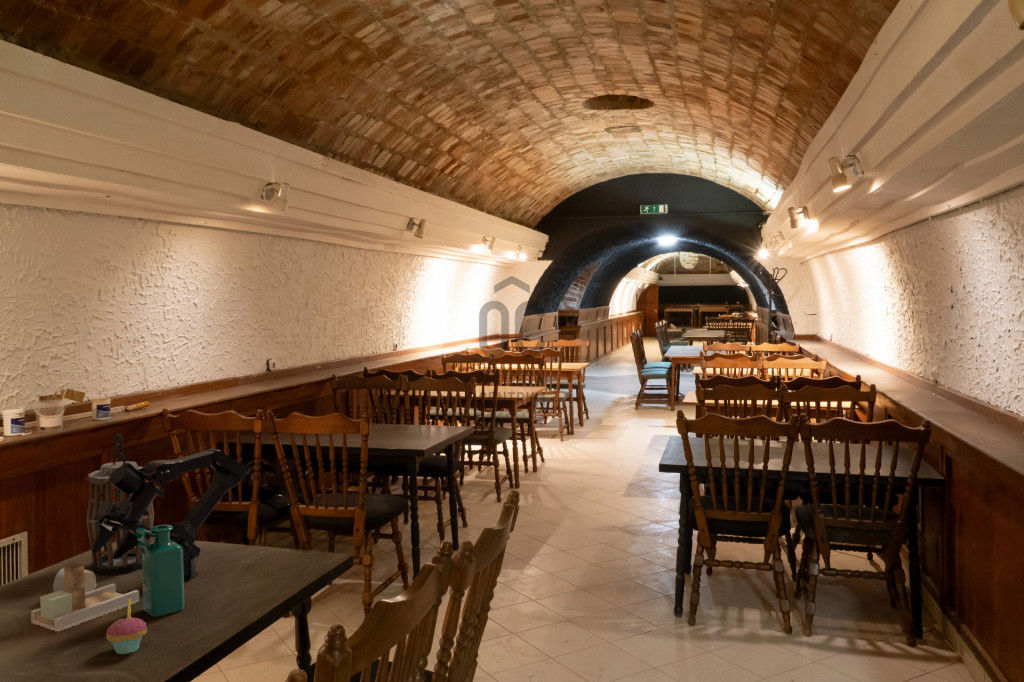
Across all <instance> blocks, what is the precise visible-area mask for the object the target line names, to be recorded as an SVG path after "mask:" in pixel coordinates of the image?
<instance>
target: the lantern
mask: <svg viewBox="0 0 1024 682" xmlns="http://www.w3.org/2000/svg"><path fill="white" fill-rule="evenodd" d="M118 438H119V439H120V442H118V443H117V439H118ZM113 446H114V449H113V450H114V455H113V457H112V462H109V463H108V462H107V463H104V464H102V465H101V466H100V468H99V470H95V471H93V472H91V473H90V472H89V473H88V476H86V477H84V478H82V481H87V482H89V494H88V496H89V498H88V504H87V513H86V526H87V527H86V528H87V535H88V539H89V545H90V550H91V571H92V572H93V573H94V574H97V573H98V575H101V574H102V576H103V575H104V576H108V575H109V576H110V574H118V575H122V574H121V573H124V574H128V573H127V572H130V573H133V572H132V571H135V572H137V571H136V570H138V571H140V570H139V569H141V570H142V550H143V549H142V548H141V547H140V546H139V545H137V546H135V547H134V548H132V549H130V550H129V551H127V552H126V553H125V554H123V555H122V556H120V557H119V558H117V559H113V558H112V557H113V554H114V552H115V551H113V543H115V542H116V548H117V547H118V545H119V543H120V542H121V540H122V538H123V530H122V529H118V530H117V531H116V533H115V537H116V538H111V539H110V540H109V541H108V542H107V543H106V544H105V545H104V546H103V550H102V548H101V549H100V550H99V551H98V552H96V553H93V552H92V548H93V545H94V541H95V538H96V533H97V529H96V526H95V525H94V521H93V519H94V517H95V516H96V514H99V513H98V511H99V508H100V505H101V502H102V501H104V502H110V503H115V504H116V502H117V501H123V500H126V501H127V500H128V499H127V497H126V496H127V494H125V493H123V492H122V491H120V490H119V489H117V488H116V487H115V486H114V490H112V484H110V483H109V477H110V475H111V473H112V472H113V471H115V470H116V469H117V468H119V467H121V466H123V464H124V463H130V464H131V465H133V467H134V468H136V469H137V470H138V469H141V468H143V466H139V465H138V464H137V462H136V461H128V460H127V459H126V457H125V455H124V447H123V446H124V437H123V436H122V435H121V434H120V433H117V434H115V435H114V436H113ZM118 449H119V450H120V451H119V452H118ZM116 458H122V461H116ZM126 460H127V461H126ZM143 481H145V482H146V483H147V482H150V481H148V480H145V479H144V480H143ZM131 494H132V493H131ZM131 494H128V495H129V497H130V495H131ZM112 495H114V499H115V500H113V501H112ZM100 499H101V500H100ZM146 511H147V512H149V513H148V515H147V516H146V515H143V516H142V518H141V519H140V521H139V522H141V523H143V524H144V525H146V526H147V527H149V528H150V529H151V528H153V527H154V520H155V511H154V504H153V502H152V503H151V504H150V506H149V507H148V509H147V510H146ZM120 526H121V525H120ZM149 544H152V537H151V538H150V539H149V541H147V540H146V545H149ZM106 574H107V575H106Z"/></svg>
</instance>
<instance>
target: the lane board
mask: <svg viewBox="0 0 1024 682" xmlns="http://www.w3.org/2000/svg"><path fill="white" fill-rule="evenodd" d="M105 592H109V593H113V594H116V595H119V596H118V597H115V598H112V599H109V600H106V601H104V602H101V603H98V604H95V605H92V606H89V607H87V608H84V609H81V610H78V611H75V612H73V613H70V614H67V615H64V616H61V617H58V618H56V619H54V625H51V624H48V623H45V622H42V621H39V620H37V616H38V615H41V607H38V608H37V609H33V610H31V611H30V614H31V615H30V618H31V620H30V621H31V624H33V623H34V624H33V625H36V624H37V625H36V626H38V625H40V626H39V627H41V626H43V627H42V628H44V627H46V628H45V629H47V628H49V629H48V630H50V629H51V631H53V630H55V631H54V632H56V631H57V632H56V633H59V632H62V631H64V629H65V630H67V629H70V628H73V627H75V626H78V625H81V624H83V623H82V622H84V623H86V622H88V620H89V621H91V619H92V620H94V619H96V617H97V618H100V617H102V616H105V615H108V614H111V613H113V612H116V611H118V609H119V610H121V609H123V607H124V608H126V606H127V607H128V599H129V595H130V599H131V604H132V605H134V603H135V604H137V603H136V602H138V603H139V602H140V591H139V590H137V589H135V590H132V591H130V592H127V593H120V592H117V584H116V583H110V584H108V585H104V586H101V587H98V588H95V589H94V590H92V591H89V592H86V593H85V599H87V598H90V597H93V596H96V595H99V594H102V593H105ZM110 612H111V613H110ZM104 614H105V615H104ZM99 616H100V617H99ZM93 618H94V619H93ZM85 621H86V622H85ZM80 623H81V624H80ZM72 626H73V627H72ZM61 630H62V631H61ZM58 631H59V632H58Z"/></svg>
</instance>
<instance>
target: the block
mask: <svg viewBox="0 0 1024 682" xmlns="http://www.w3.org/2000/svg"><path fill="white" fill-rule="evenodd" d="M39 597H40V598H39V601H40V604H39V605H40V608H41V617H44V618H47V619H50V620H54V619H56V618H58V617H61V616H64V615H67V614H70V613H73V609H72V594H71V593H67V592H64V591H61V590H59V591H56V592H54V591H53V592H51V593H48V594H44V595H42V596H39Z"/></svg>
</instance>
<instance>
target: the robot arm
mask: <svg viewBox="0 0 1024 682" xmlns="http://www.w3.org/2000/svg"><path fill="white" fill-rule="evenodd" d="M207 466H210V467H211V468H212V469H213V470H214V472H213V477H212V479H213V480H212V482H211V484H210V485H209V486H208V487H207V489H206V490H205V491H204V493H202V495H201V496H200V498H199V499H198V501H197V502H195V504H194V505H193V506H192V508H191V510H190V511H189V512H188V513H187V515H186V516H185V517H184V519H182V521H180V522H178V523H176V522H171V523H170V524H169V525H171V526H173V529H172V530H170V531H169V536H170V541H173V542H175V543H177V544H179V545H181V546H182V549H183V574H184V582H189V581H191V580H193V579H194V578H195V577H196V576H197V575H199V571H197V565H196V564H197V559H196V558H198V557H199V556H200V552H201V548H200V547H198V546H197V545H196V544H195V541H196V539H197V532H198V530H199V528H200V527H201V526H202V525H203V523H204V522H205V520H206V519H208V517H209V515H210V514H211V512H212V511H213V510H214V509H215V507H216V506H217V505H218V503H219V502H220V500H221V499H222V497H224V495H225V494H226V492H227V491H229V490H231V489H233V488H235V487H236V486H237V485H239V484H240V483H241V481H243V480H244V479H245V478H246V476H247V467H246V465H245V464H244V462H240V461H238V460H236V459H234V458H233V457H231V456H230V455H227V454H226V453H225V452H223V451H222V449H221V450H220V449H215V448H208V449H206V450H203V451H201V452H200V451H199V452H197V453H194V454H190V455H186V456H183V457H179V458H176V459H160V460H159V459H158V460H151V461H149V462H147V463H146V465H145V466H144V467H143V466H142V467H143V468H141V469H138V470H137V469H136V468H134V467H133V465H131V464H130V463H124V464H123V466H121V467H119V468H117V469H116V470H115V471H113V472H112V473H111V475H110V477H109V483H110V484H111V486H113V487H114V488H115V487H116V488H117V489H119V490H120V491H122V492H123V493H125V494H126V495H129V494H131V493H132V494H131V495H130V496H129V497H128V498H127V499H126V500H127V501H126V500H123V501H117V502H116V504H115V503H110V502H104V501H102V502H101V505H99V510H98V513H99V514H96V516H95V517H94V519H93V521H94V525H95V526H96V529H97V533H96V538H95V541H94V545H93V548H92V552H93V553H96V552H98V551H99V550H100V549H101V550H102V548H104V545H105V544H106V543H107V542H108V541H109V540H110V539H113V538H114V536H116V533H115V532H116V531H117V530H118V529H122V530H123V538H122V540H121V542H120V543H119V545H118V547H117V546H116V549H115V551H113V552H114V554H113V557H112V558H113V559H117V558H119V557H120V556H122V555H123V554H125V553H126V552H127V551H129V550H130V549H132V548H134V547H135V548H136V546H137V545H139V544H138V541H137V535H136V529H137V528H143V529H145V530H147V531H150V530H151V529H150V528H149V527H147V526H146V525H144V524H143V523H141V522H142V521H141V522H139V521H140V519H141V518H142V517H143V515H146V516H147V515H148V513H149V512H147V511H146V510H147V509H148V507H149V506H150V504H151V503H153V501H154V499H155V498H156V497H162V498H163V497H165V492H164V487H163V486H160V485H155V484H154V483H158V484H163V485H164V484H168V483H170V482H172V481H174V480H175V479H177V478H178V477H179V476H180V475H183V474H184V473H188V472H191V471H194V470H195V471H196V470H198V469H201V468H204V467H207ZM144 479H145V480H148V481H149V482H147V483H146V482H145V481H143V480H144ZM120 525H121V526H120ZM150 538H151V539H152V535H150V534H145V540H147V541H149V539H150ZM92 552H91V553H92Z"/></svg>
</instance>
